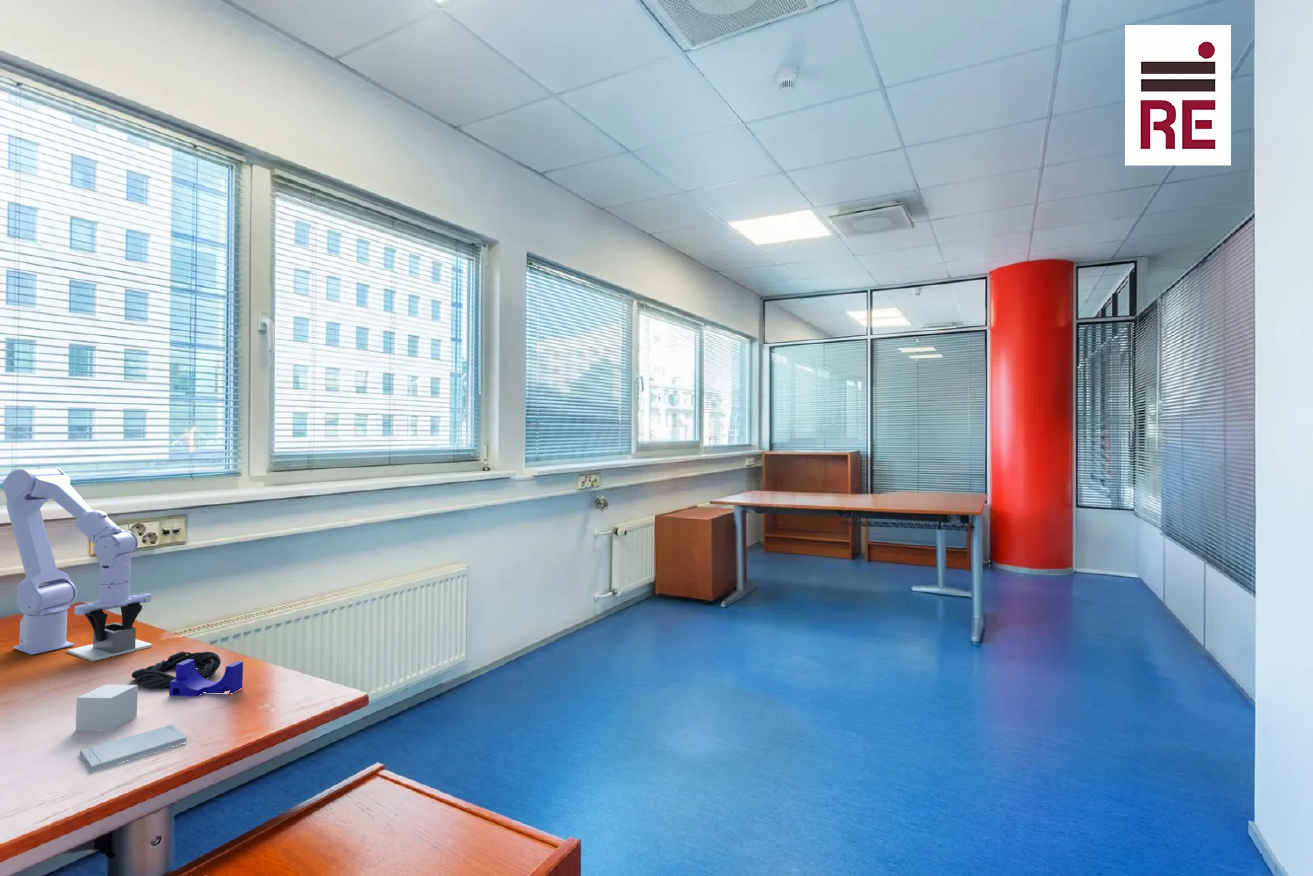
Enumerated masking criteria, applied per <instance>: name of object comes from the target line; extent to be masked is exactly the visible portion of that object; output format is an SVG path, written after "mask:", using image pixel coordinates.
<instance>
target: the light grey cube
mask: <svg viewBox="0 0 1313 876" xmlns="http://www.w3.org/2000/svg"><path fill="white" fill-rule="evenodd" d="M138 689H139V687H138V684H103V685H101V686H99V687H97V688H95V689H92V690H91V691H88V692H86V693H84V694H82V695H79V696H78V697H76V706H75V707H76V710H75V712H76V713H75V714H76V715H75V731H77V730H80V731H82V732H87V730H91V731H92V732H98V731H97V730H103V732H107V731H106V730H111V729H113V728H114V729H116V728H118V727H120V726H121V725H120V724H122V723H124V724H125V723H127V722H129V721H131V720H132V719H135V718H136V717H137V716H138V715H137V714H138V694H139V693H138V691H139V690H138ZM130 719H131V720H130ZM128 720H129V721H128ZM126 721H127V722H126ZM119 725H120V726H119ZM122 725H123V724H122ZM117 726H118V727H117ZM115 727H116V728H115ZM114 729H113V730H114ZM80 731H79V732H80ZM91 731H90V732H91ZM111 731H112V730H111Z"/></svg>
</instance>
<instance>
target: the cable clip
mask: <svg viewBox="0 0 1313 876" xmlns="http://www.w3.org/2000/svg"><path fill="white" fill-rule="evenodd" d="M243 671H244V661H242V660H241V661H238V660H236V661H234V662H232V663H230V664H228V665H226V666H225V671H224V674H223V676H222V678H221V679H220V680H219V681H212V680H208V679H207V680H206V679H204V678H203V677H202V676H201V675H200V674H199V673H198V669H196V667H195V660H193V659H187V660H185V661H183V662H180V663H178V664H176V667H175V677H176V679H174V680H172V681H170V687H169V695H168V696H170V697H192V696H199V695H200V694H202V693H203V692H206V693H224V692H225V691H229V690H230V692H229V693H234V692H235V691H237V690H239V689H240V688H242V689H243V678H244V676H243V675H244V672H243ZM202 695H203V694H202ZM200 696H201V695H200ZM200 696H199V697H200Z"/></svg>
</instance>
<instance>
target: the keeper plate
mask: <svg viewBox="0 0 1313 876" xmlns="http://www.w3.org/2000/svg"><path fill="white" fill-rule="evenodd" d="M152 647H153V643H150V642H147V641H144V640H140V639H137V638H136V640H135V649H131V650H127V651H122V652H118V653H114V654H111V653H108V652H105V651H102V650H99V649H96V648H93V643H92V644H86V645H82V646H79V647H74V648H70V649H66V653H68V654H69V655H70V654H71V655H73V656H76V655H77V657H79V658H82V659H85V660H87V659H88V661H90V662H95V661H99V660H103V659H107V658H111V656H112V657H116V656H119V655H123V654H128V653H132V652H136V651H139V650H143V649H148V648H152ZM135 650H136V651H135ZM115 655H116V656H115Z"/></svg>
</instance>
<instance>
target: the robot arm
mask: <svg viewBox="0 0 1313 876" xmlns="http://www.w3.org/2000/svg"><path fill="white" fill-rule="evenodd" d="M2 488H3V490H4V494H5V498H6V509H7V510H6V511H7V513H8V516H9V520H10V523H11V527H12V531H13V535H14V539H15V541H16V546H17V549H18V553H19V556H20V560H21V563H22V567H23V571H24V574H25V578H23V580H22V581H20V582H19V584H17V585H16V587H15V588H16V592H17V597H16V606H17V609H18V611H20V613H21V612H22V618H21V619H20V623H19V645H15V646H13V649H15V650H17V651H21V652H23V653H25V654H28V655H36V654H41V653H46V652H50V651H54V650H60V649H65V648H68V647H73V646H75V643H74V642H70V641H67V628H68V627H67V624H68V623H67V622H68V609H70V608H71V604H72V603H73V602H74V601H75V600H76V599H77V595H78V589H77V587H76V585H75V584H74V583H73V582H72V580H71V579H70V576H69V574H68V573H66V572H64V571H63V570H60V569H59V568H57V565H56V561H55V557H54V554H53V553H54V552H53V549H52V546H51V543H50V539H49V536H48V533H47V529H46V526H45V521H44V518H43V515H42V511H41V508H42V507H43V505H44V504H45V503H47V502H49V500H50V501H51V499H52V500H53V501H54V502H55V503H56V504H58V505H59V506H60V507H61V508H63V510H65V511H66V512H68V513H69V514H70V515H71V516H73V517H74V518H75V519H76V521H75V528H77V529H78V530H79V531H80V532H81V533H82V534H83V535H84V536H85V537H86V538H87V539H88V540H90V542H91V543H93V544H94V545H93V547H92V548H93V552H94V554H95V555H96V556H97V563H98V565H99V582H98V583H99V586H98V587H99V588H98V600H95V601H92V602H89V603H85V604H84V603H83V604H80V605H79V604H78V605H74V615H76V616H82V615H84V616H85V617H86V619H87V620H88V622H89V623H90V625H91V628H93V632H95V636H96V640H97V641H100V642H101V641H104V636H105V625H106V621H107V619H108V613H105V611H106V610H111V609H116V608H117V609H118V608H120V611H121V624H124V625H127V626H131V627H134V626H133V625H134V623H135V621H136V619H137V617H138V616H139V614H140V613H141V612H142V610H143V605H142V604H143V603H145V604H146V603H151V601H152V594H150V593H143V594H133V595H131V575H132V574H131V572H132V570H131V569H132V567H131V566H132V554H133V553H134V552H136V550H137V548H138V545H139V541H138V537H137V536H136V534H135V533H134V532H133V531H130V530H125V529H123V528H121V527H119V525H117V524H116V523H115V522H114V521H112V519H110V518H109V517H108V516H109V514H107V512H105V511H102V510H99V509H98V510H97V509H95V510H94V509H93V508H91V506H89V504H88V503H87V502H86V501H85V500H84V498H82V496H81V495H80V494H79V493H78V492H77V491H76V489H75V488H74V487H73V486H72V485H71V477H70V476H69V475H67V474H66V473H65V472H64V471H63V469H61V468H59V467H49V468H33V469H32V468H31V469H22V468H18V469H14V470H12V471H11V472H9V474H7V476H6V478H4V480H3V481H2Z"/></svg>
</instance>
